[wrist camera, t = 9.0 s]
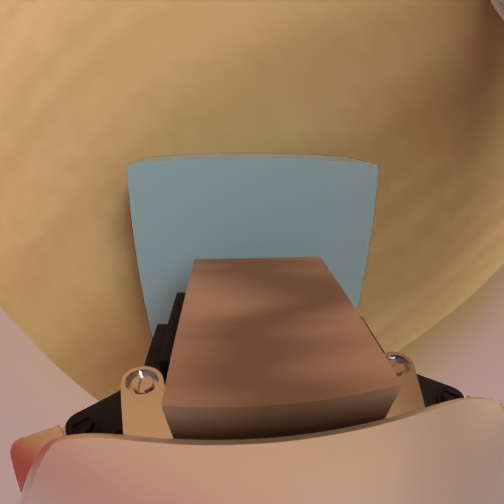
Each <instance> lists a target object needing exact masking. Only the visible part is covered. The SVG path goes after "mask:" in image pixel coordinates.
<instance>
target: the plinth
mask: <svg viewBox="0 0 504 504" xmlns="http://www.w3.org/2000/svg"><path fill="white" fill-rule="evenodd" d="M378 169H379V165H376V164H372V163H369V162H365V161H361V160H357V159H353V158H349V157H337V156H323V155H305V154H278V153H217V154H190V155H172V156H158V157H148V158H145V159H142V160H139V161H136V162H133V163H130V164H127V177H128V190H129V201H130V211H131V220H132V228H133V236H134V243H135V250H136V257H137V263H138V269H139V275H140V281H141V287H142V292H143V297H144V302H145V307H146V312H147V317H148V321H149V326H150V330H151V335H152V339H153V336H154V333H155V330H156V327H157V325H158V324H168V321H169V318H170V314H171V311H172V307H173V304H174V301H175V297H176V294H177V293H186V291H187V287H188V283H189V279H190V275H191V271H192V267H193V263H194V260H195V259H235V258H279V257H319V256H320V257H321V258H322V260H323V261H324V263H325V264H326V265H327V267H328V268H329V270H330V271H331V273H332V274H333V276H334V277H335V279H336V280H337V282H338V283H339V284H340V286H341V287H342V289H343V290H344V292H345V293H346V295H347V296H348V298H349V299H350V301H351V303H352V304H353V306H354V307H355V309H356V310H357V309H358V304H359V299H360V295H361V290H362V285H363V279H364V274H365V269H366V263H367V257H368V251H369V245H370V238H371V232H372V224H373V217H374V209H375V200H376V191H377V180H378Z"/></svg>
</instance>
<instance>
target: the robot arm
mask: <svg viewBox="0 0 504 504" xmlns="http://www.w3.org/2000/svg"><path fill="white" fill-rule="evenodd" d="M489 1H490V2H491V4H492V6H493V7H494V9H495V10H496V12H497V13H498V15H499V16H500V18H501V19H502V21H503V22H504V0H489ZM185 295H186V293H177V294H176V297H175V301H174V304H173V307H172V311H171V314H170V318H169V321H168V324H158V325H157V327H156V330H155V333H154V336H153V339H152V342H151V345H150V349H149V352H148V355H147V358H146V362H145V365H144V366H139V367H135V368H133V369H131V370H129V371H127V372H126V373H125V374H124V376H123V377H122V379H121V390H120V391H118V392H117V393H115V394H113V395H111V396H109V397H107V398H105V399H103V400H101V401H99V402H97V403H96V404H94V405H92V406H90V407H88V408H86V409H84V410H82V411H80V412H78V413H76V414H74V415H73V416H71V417H70V419H69V420H68V421H67V423H66V426H65V427H62V428H61V427H60V426H59V425H58V426H56V427H53V428H50V429H47V430H44V431H41V432H38V433H36V434H32V435H29V436H27V437H23V438H20V439H18V440H17V441H15V442H14V443H13V445H12V447H11V459H12V463H13V467H14V471H15V475H16V478H17V481H18V485H19V488H20V491H21V496H20V499H19V503H18V504H504V404H501V403H498V402H497V401H495V400H493V399H490V398H485V397H470V396H467V397H466V398H464V396H463V395H462V393H461V392H460V391H459V390H457V389H455V388H453V387H451V386H448V385H445V384H442V383H440V382H437V381H434V380H431V379H429V378H426V377H423V376H421V375H418V374H416V371H415V368H414V365H413V362H412V361H411V360H410V359H409V358H408V357H407V356H405V355H404V354H401V353H398V352H387V353H384V351H383V349H382V348H381V346H380V344H379V343H378V341H377V340H376V338H375V337H374V335H373V333H372V332H371V330H370V329H369V327H368V326H367V324H366V322H365V321H364V319H363V318H362V317H361V318H362V319H363V321H364V323H365V324H366V326H367V327H368V329H369V330H370V332H371V333H372V335H373V337H374V338H375V340H376V341H377V343H378V345H379V346H380V348H381V349H382V351H383V353H384V354H385V356H386V358H387V359H388V361H389V363H390V364H391V366H392V367H393V369H394V371H395V372H396V374H397V376H398V378H399V379H400V381H401V383H402V386H401V388H400V390H399V392H398V394H397V396H396V398H395V400H394V402H393V404H392V406H391V408H390V410H389V412H388V414H387V415H384V417H383V419H382V420H378V421H374V422H370V423H365V424H361V425H356V426H351V427H346V428H340V429H335V430H329V431H323V432H317V433H310V434H302V435H294V436H284V437H274V438H260V439H240V440H191V439H176V436H175V435H172V434H171V431H170V428H169V426H168V423H167V420H166V418H165V415H164V412H163V409H162V407H161V404H162V399H163V393H164V388H165V383H166V378H167V374H168V369H169V364H170V359H171V355H172V350H173V346H174V341H175V337H176V332H177V328H178V324H179V319H180V315H181V311H182V307H183V303H184V299H185Z"/></svg>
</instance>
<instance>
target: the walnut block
mask: <svg viewBox="0 0 504 504" xmlns="http://www.w3.org/2000/svg"><path fill="white" fill-rule="evenodd" d="M401 386H402V383H401V381H400V379H399V378H398V376H397V374H396V372H395V371H394V369H393V367H392V366H391V364H390V363H389V361H388V359H387V358H386V356H385V354H384V353H383V351H382V349H381V348H380V346H379V345H378V343H377V341H376V340H375V338H374V337H373V335H372V333H371V332H370V330H369V329H368V327H367V326H366V324H365V323H364V321H363V319H362V318H361V316H360V315H359V313H358V312H357V310H356V309H355V307H354V306H353V304H352V303H351V301H350V299H349V298H348V296H347V295H346V293H345V292H344V290H343V289H342V287H341V286H340V284H339V283H338V282H337V280H336V279H335V277H334V276H333V274H332V273H331V271H330V270H329V268H328V267H327V265H326V264H325V263H324V261H323V260H322V258H321V257H320V256H319V257H279V258H235V259H195V260H194V263H193V267H192V271H191V275H190V279H189V283H188V287H187V291H186V295H185V299H184V303H183V307H182V311H181V315H180V319H179V324H178V328H177V332H176V337H175V341H174V346H173V350H172V355H171V359H170V364H169V369H168V374H167V378H166V383H165V388H164V393H163V399H162V404H161V407H162V409H163V412H164V415H165V418H166V420H167V423H168V426H169V428H170V431H171V434H172V435H175V436H176V439H191V440H240V439H260V438H274V437H284V436H294V435H302V434H310V433H317V432H323V431H329V430H335V429H340V428H346V427H351V426H356V425H361V424H365V423H370V422H374V421H378V420H382V419H383V417H384V415H387V414H388V412H389V410H390V408H391V406H392V404H393V402H394V400H395V398H396V396H397V394H398V392H399V390H400V388H401Z"/></svg>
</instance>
